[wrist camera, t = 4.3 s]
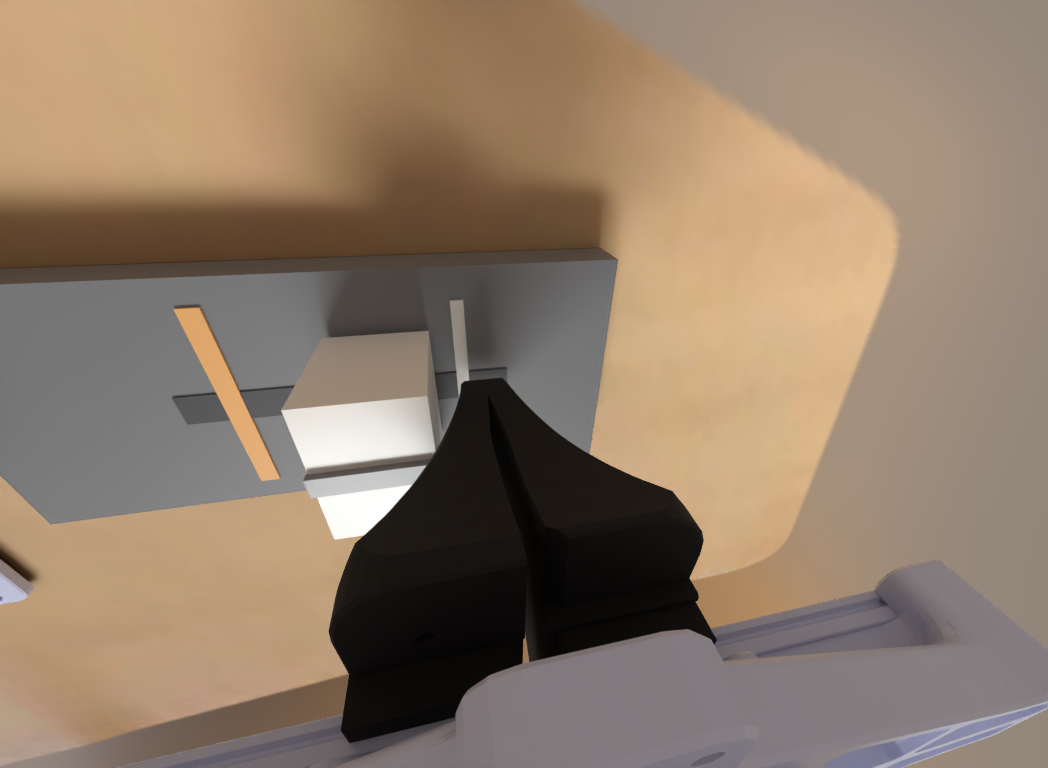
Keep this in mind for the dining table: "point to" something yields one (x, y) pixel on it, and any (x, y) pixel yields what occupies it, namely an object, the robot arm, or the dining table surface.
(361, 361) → the block
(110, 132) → the dining table surface
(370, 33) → the dining table surface
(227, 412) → the console
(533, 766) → the robot arm
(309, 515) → the dining table surface
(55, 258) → the dining table surface
